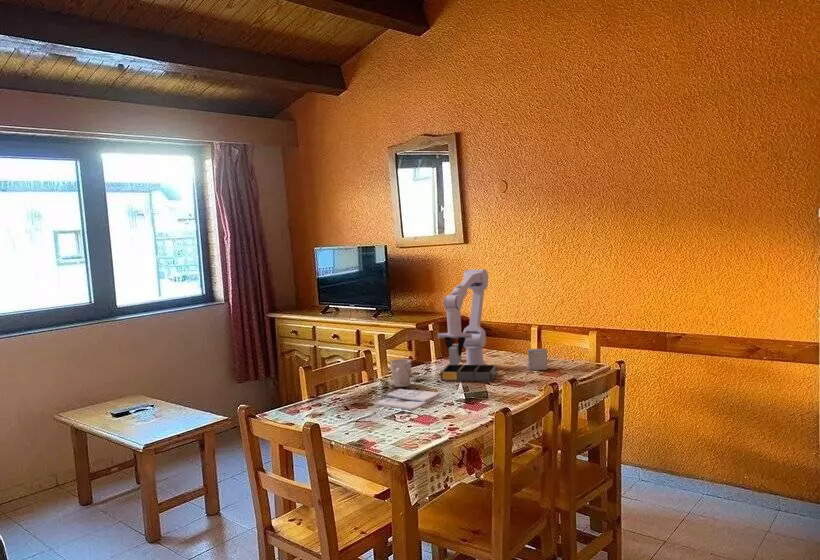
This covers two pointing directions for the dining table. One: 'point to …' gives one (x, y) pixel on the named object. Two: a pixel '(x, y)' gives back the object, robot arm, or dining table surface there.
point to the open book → (412, 396)
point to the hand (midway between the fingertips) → (455, 355)
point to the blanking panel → (454, 355)
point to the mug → (401, 372)
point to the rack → (469, 373)
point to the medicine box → (537, 359)
